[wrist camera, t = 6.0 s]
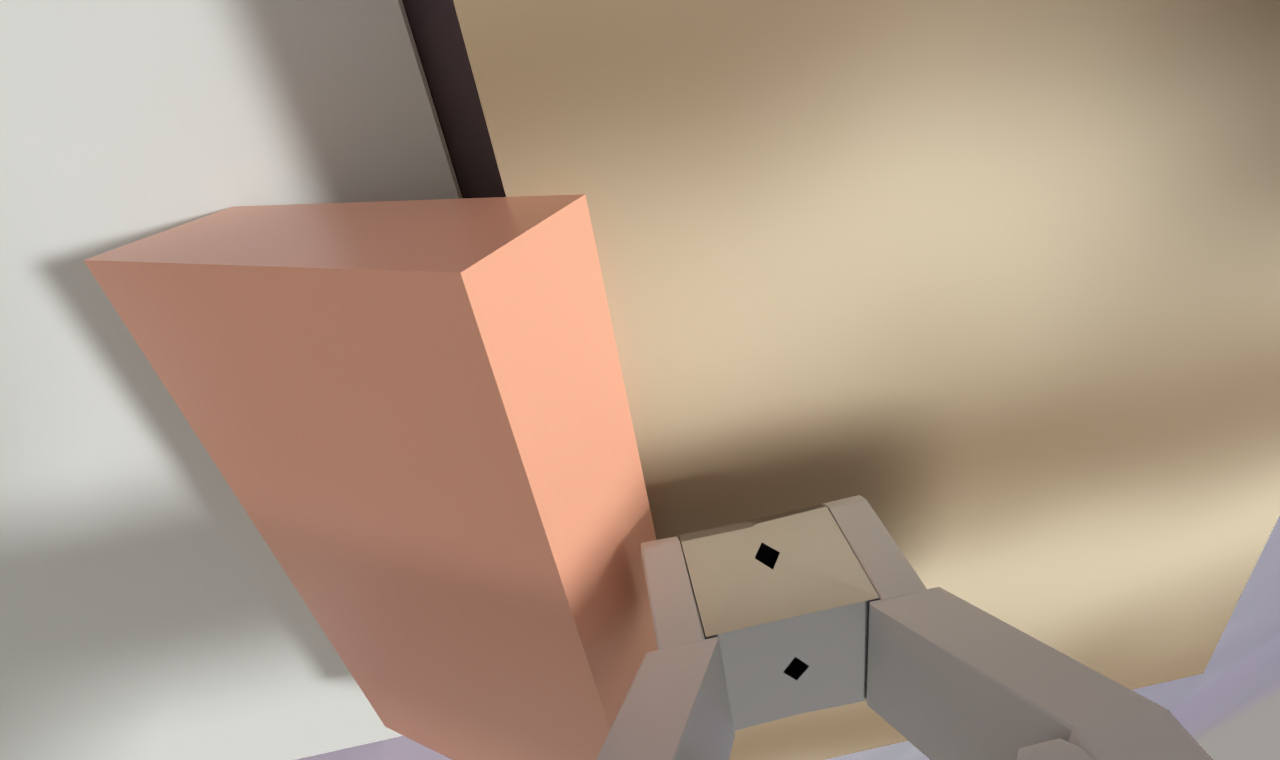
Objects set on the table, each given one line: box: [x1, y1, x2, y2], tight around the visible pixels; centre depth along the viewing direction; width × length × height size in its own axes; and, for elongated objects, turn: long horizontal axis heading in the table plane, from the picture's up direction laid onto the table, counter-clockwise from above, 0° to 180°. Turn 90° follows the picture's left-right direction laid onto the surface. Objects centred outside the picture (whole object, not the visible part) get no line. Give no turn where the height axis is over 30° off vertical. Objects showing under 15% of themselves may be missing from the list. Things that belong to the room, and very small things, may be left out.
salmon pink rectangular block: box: [84, 194, 658, 760], centre depth 10 cm, size 10×6×2 cm
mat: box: [0, 0, 463, 760], centre depth 12 cm, size 16×14×1 cm
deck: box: [453, 0, 1280, 760], centre depth 11 cm, size 16×12×3 cm
